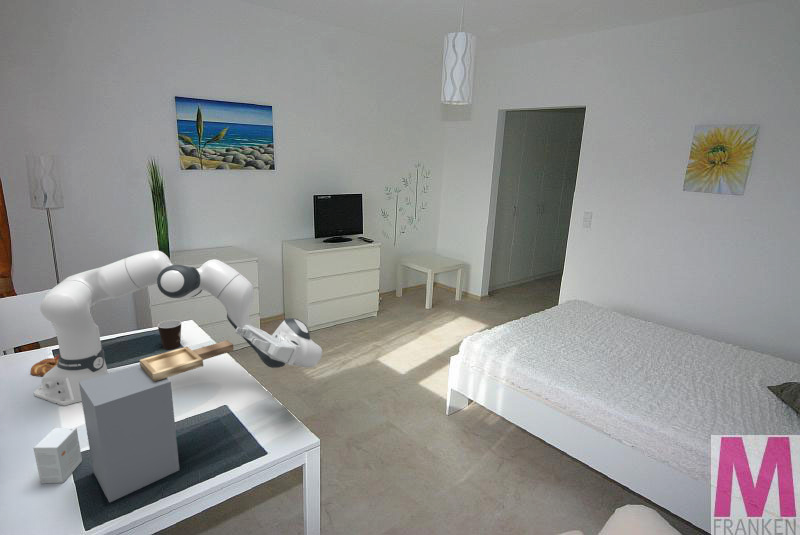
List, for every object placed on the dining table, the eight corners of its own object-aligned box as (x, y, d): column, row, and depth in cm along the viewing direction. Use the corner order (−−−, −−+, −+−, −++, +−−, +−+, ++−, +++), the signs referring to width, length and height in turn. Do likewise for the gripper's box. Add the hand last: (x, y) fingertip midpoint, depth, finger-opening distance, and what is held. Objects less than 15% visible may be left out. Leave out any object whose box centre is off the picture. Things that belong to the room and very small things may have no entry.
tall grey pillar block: (159, 444, 126) (150, 361, 119) (179, 470, 117) (170, 381, 110) (93, 472, 115) (78, 381, 108) (109, 502, 105) (94, 406, 98)
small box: (60, 461, 118) (54, 427, 115) (83, 461, 118) (77, 427, 115) (39, 484, 110) (32, 447, 107) (63, 483, 110) (57, 447, 108)
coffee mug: (173, 352, 179) (171, 329, 176) (155, 349, 181) (152, 326, 178) (192, 340, 190) (190, 318, 187) (174, 337, 192) (172, 316, 189)
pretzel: (30, 381, 154) (28, 372, 153) (32, 368, 163) (30, 359, 162) (72, 372, 161) (71, 363, 160) (72, 360, 170) (70, 351, 169)
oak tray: (222, 342, 131) (222, 336, 130) (239, 354, 124) (238, 348, 124) (140, 366, 115) (139, 359, 115) (154, 381, 109) (153, 374, 108)
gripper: (268, 326, 148) (233, 314, 137) (303, 348, 134) (267, 337, 124) (259, 344, 147) (223, 333, 136) (294, 367, 133) (257, 358, 123)
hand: (244, 335), depth 130 cm, fingers open, 8 cm apart
